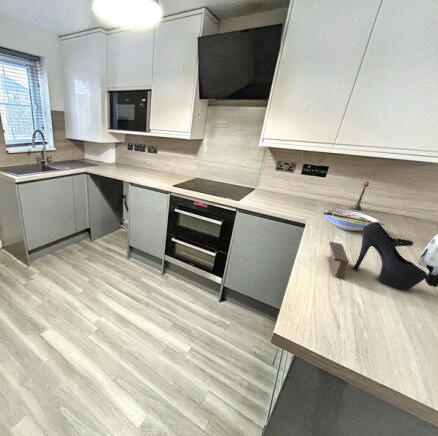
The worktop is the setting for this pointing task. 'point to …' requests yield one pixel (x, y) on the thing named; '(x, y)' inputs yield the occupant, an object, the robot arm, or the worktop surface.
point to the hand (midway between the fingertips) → (430, 284)
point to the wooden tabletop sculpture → (357, 206)
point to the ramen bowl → (349, 219)
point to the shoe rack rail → (338, 259)
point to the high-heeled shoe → (390, 258)
